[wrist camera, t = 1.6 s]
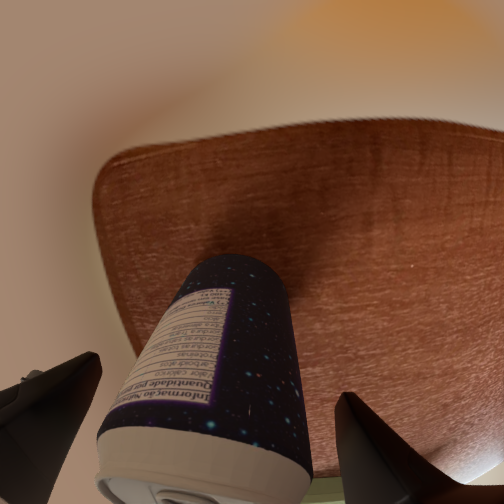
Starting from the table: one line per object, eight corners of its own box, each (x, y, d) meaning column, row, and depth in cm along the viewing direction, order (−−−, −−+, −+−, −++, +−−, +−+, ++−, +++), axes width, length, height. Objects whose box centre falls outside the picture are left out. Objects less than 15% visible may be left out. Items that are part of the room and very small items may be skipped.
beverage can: (191, 337, 16) (127, 521, 5) (179, 248, 15) (35, 431, 3) (285, 338, 16) (301, 540, 5) (288, 247, 14) (344, 479, 3)
